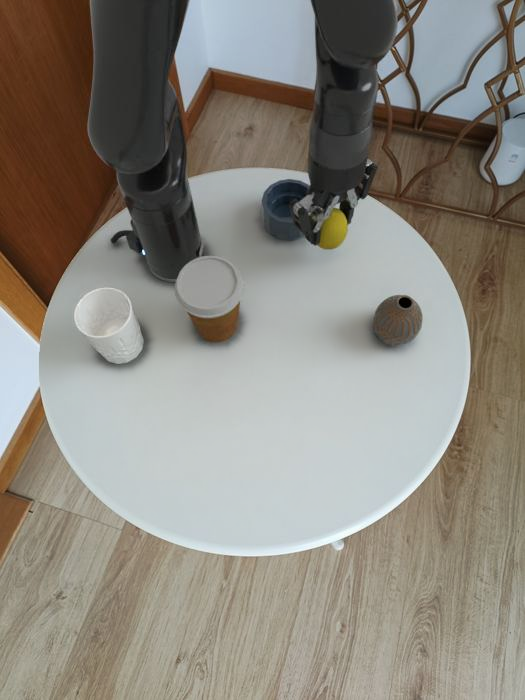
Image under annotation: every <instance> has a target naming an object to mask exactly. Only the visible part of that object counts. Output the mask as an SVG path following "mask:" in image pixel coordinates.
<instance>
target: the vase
mask: <svg viewBox="0 0 525 700" xmlns="http://www.w3.org/2000/svg"><path fill="white" fill-rule="evenodd" d="M423 320H424V317H423V311H422V309H421V307H420V305H419V303H418V302H417V301H416V300H415V299H414V298H412V297H411V296H409V295H407V294H394V295H391V296H388V297H387V298H385V299H383V301H381V302H380V303H379V305H378V306H377V308H375V311H374V314H373V320H372V324H373V330H374V332H375V334H376V336H377V337H378V339H379V340H380V341H382V342H383V343H385V344H387V345H390V346H395V347H398V346H403V345H406V344H408V343H410V342H411V341H413V340H414V339H415V338H416V337H417V336H418V335H419V333H420V331H421V329H422V326H423V322H424V321H423Z"/></svg>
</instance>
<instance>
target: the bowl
mask: <svg viewBox="0 0 525 700" xmlns="http://www.w3.org/2000/svg"><path fill="white" fill-rule="evenodd" d="M309 187H310V184H308V183H306V182H304V181H303V180H299V179H294V178H293V179H292V178H286V179H280V180H277V181H275V182H274V183H272V184H270V185H269V186H268V187H267V188H266V189H265V190H264V191H263V193H262V198H261V219H262V223H263V227H264V228H265V229H266V231H267V232H268V233H269V234H270V235H272V236H273V237H276V238H277V239H281V240H288V241H289V240H291V241H292V240H297V239H301V238H303V237H305V236H304V235H303V233H302V232H301V231H300V230H299V229H298V228H297V227H295V226H294V223H293V218H292V214H291V209H290V202H291V201H292V200H293V199H296V200H297V201H298V202H299V201H301V200H302V199H303V198H305V197H306V196H307V191H308V189H309ZM314 217H315V216H313V219H314Z"/></svg>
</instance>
